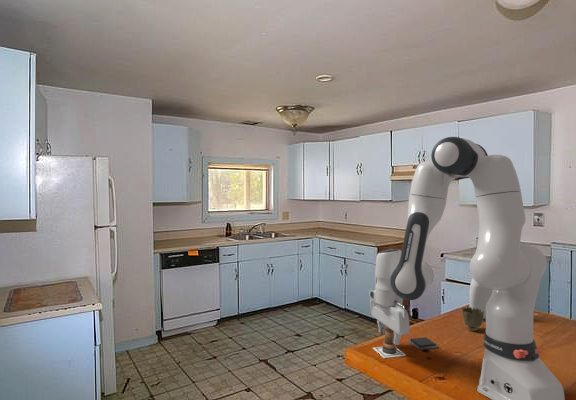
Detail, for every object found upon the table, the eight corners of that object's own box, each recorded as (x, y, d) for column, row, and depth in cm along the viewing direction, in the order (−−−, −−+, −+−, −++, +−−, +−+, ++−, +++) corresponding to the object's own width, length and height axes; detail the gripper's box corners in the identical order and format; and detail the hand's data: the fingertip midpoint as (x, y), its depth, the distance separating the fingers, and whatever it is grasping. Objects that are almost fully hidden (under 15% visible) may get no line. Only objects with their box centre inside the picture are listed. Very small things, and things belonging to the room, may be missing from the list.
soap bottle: (482, 324, 151) (482, 257, 150) (463, 318, 157) (464, 254, 157) (501, 317, 158) (502, 254, 158) (483, 312, 165) (483, 251, 165)
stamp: (398, 353, 123) (398, 323, 123) (386, 354, 122) (386, 324, 122) (391, 347, 128) (391, 319, 127) (380, 349, 127) (380, 320, 126)
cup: (487, 333, 140) (487, 312, 140) (467, 333, 140) (467, 312, 140) (477, 326, 148) (477, 306, 147) (459, 326, 148) (459, 306, 148)
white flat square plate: (406, 355, 122) (406, 354, 122) (383, 358, 120) (383, 357, 120) (393, 345, 130) (393, 345, 130) (372, 348, 128) (372, 347, 128)
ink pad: (438, 347, 128) (438, 344, 128) (419, 349, 126) (419, 346, 126) (426, 339, 135) (426, 336, 135) (408, 341, 133) (408, 338, 133)
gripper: (414, 305, 115) (414, 350, 115) (383, 289, 135) (383, 327, 135) (396, 307, 114) (396, 352, 114) (367, 290, 134) (367, 328, 134)
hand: (388, 338), depth 125 cm, fingers open, 8 cm apart
